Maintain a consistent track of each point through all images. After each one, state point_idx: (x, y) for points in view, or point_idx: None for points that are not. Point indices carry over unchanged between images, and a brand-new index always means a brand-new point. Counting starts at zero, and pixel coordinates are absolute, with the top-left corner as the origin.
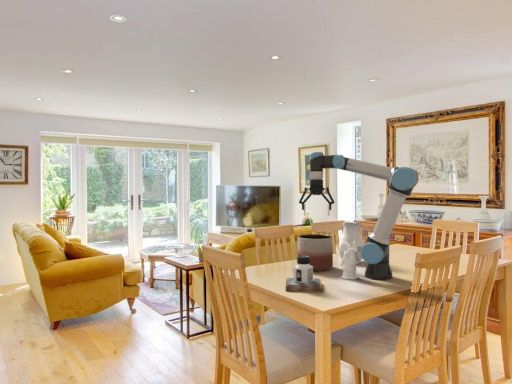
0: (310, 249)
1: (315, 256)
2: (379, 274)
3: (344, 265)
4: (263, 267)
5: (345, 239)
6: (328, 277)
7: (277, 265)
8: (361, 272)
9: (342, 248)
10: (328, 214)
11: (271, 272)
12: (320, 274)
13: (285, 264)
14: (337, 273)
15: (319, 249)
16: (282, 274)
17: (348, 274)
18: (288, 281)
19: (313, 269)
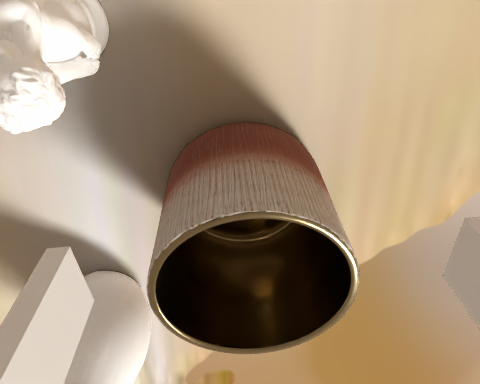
0: (276, 173)
1: (245, 151)
2: None
3: (65, 8)
4: (461, 167)
5: (103, 356)
6: (174, 12)
7: (394, 207)
8: (37, 140)
9: (44, 68)
10: (50, 267)
11: (446, 79)
12: (217, 73)
13: (359, 226)
14: (139, 105)
15: (223, 176)
16: (400, 45)
17: None
18: None
19: (250, 123)
